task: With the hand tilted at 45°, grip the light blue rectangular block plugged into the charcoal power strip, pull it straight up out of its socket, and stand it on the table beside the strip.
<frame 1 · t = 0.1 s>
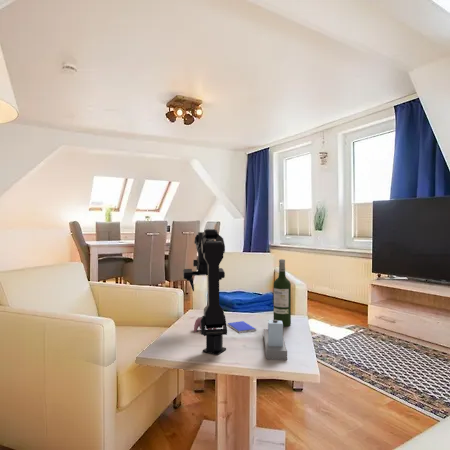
hand: (203, 290, 156), 15 cm above the table, tool pointing down, fingers open, 9 cm apart
wine bottle: (282, 324, 155), on the table
video game controller: (205, 331, 146), on the table
light blue rectangular block: (275, 350, 120), point 1 cm above the table, touching power strip
hard drive: (241, 329, 150), on the table
power strip: (274, 346, 126), on the table
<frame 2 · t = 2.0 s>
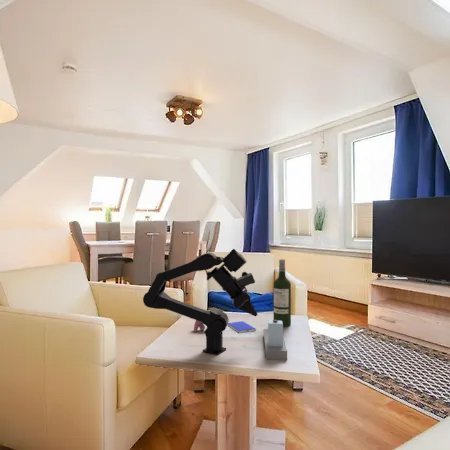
hand: (255, 312, 122), 14 cm above the table, tool tilted 45°, fingers open, 9 cm apart
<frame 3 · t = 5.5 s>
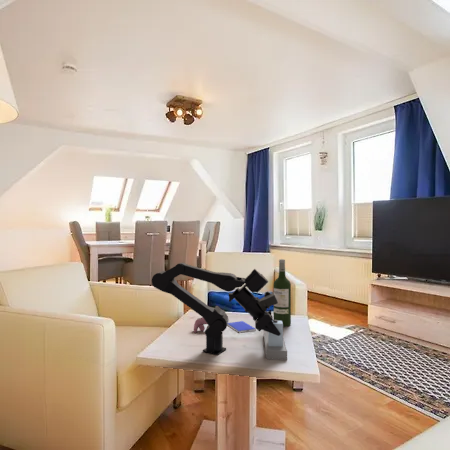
hand: (279, 333, 120), 7 cm above the table, tool tilted 45°, fingers closed on light blue rectangular block, 4 cm apart
light blue rectangular block: (275, 350, 120), point 1 cm above the table, touching gripper, power strip
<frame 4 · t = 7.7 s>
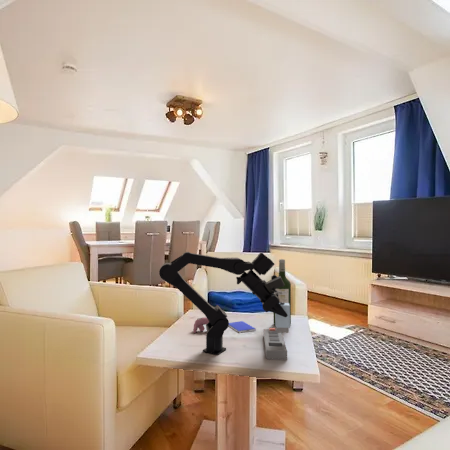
hand: (286, 314, 122), 13 cm above the table, tool tilted 45°, fingers closed on light blue rectangular block, 4 cm apart
light blue rectangular block: (282, 331, 122), point 7 cm above the table, touching gripper
when the fingers open (7 cm above the table, at t = 10.2 s): light blue rectangular block drops 1 cm, on the table.
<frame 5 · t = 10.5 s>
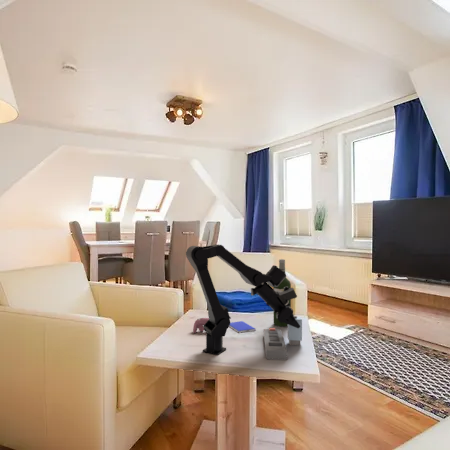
hand: (298, 324, 129), 7 cm above the table, tool tilted 45°, fingers open, 7 cm apart
light blue rectangular block: (294, 343, 129), on the table
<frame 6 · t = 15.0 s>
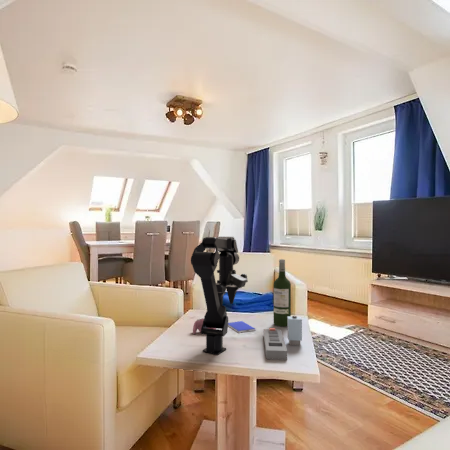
hand: (226, 306, 135), 13 cm above the table, tool pointing down, fingers open, 9 cm apart
at the end: light blue rectangular block inside the target area (0.1 cm from its centre), on the table; light blue rectangular block tilted 0°; the gripper is holding nothing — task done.
